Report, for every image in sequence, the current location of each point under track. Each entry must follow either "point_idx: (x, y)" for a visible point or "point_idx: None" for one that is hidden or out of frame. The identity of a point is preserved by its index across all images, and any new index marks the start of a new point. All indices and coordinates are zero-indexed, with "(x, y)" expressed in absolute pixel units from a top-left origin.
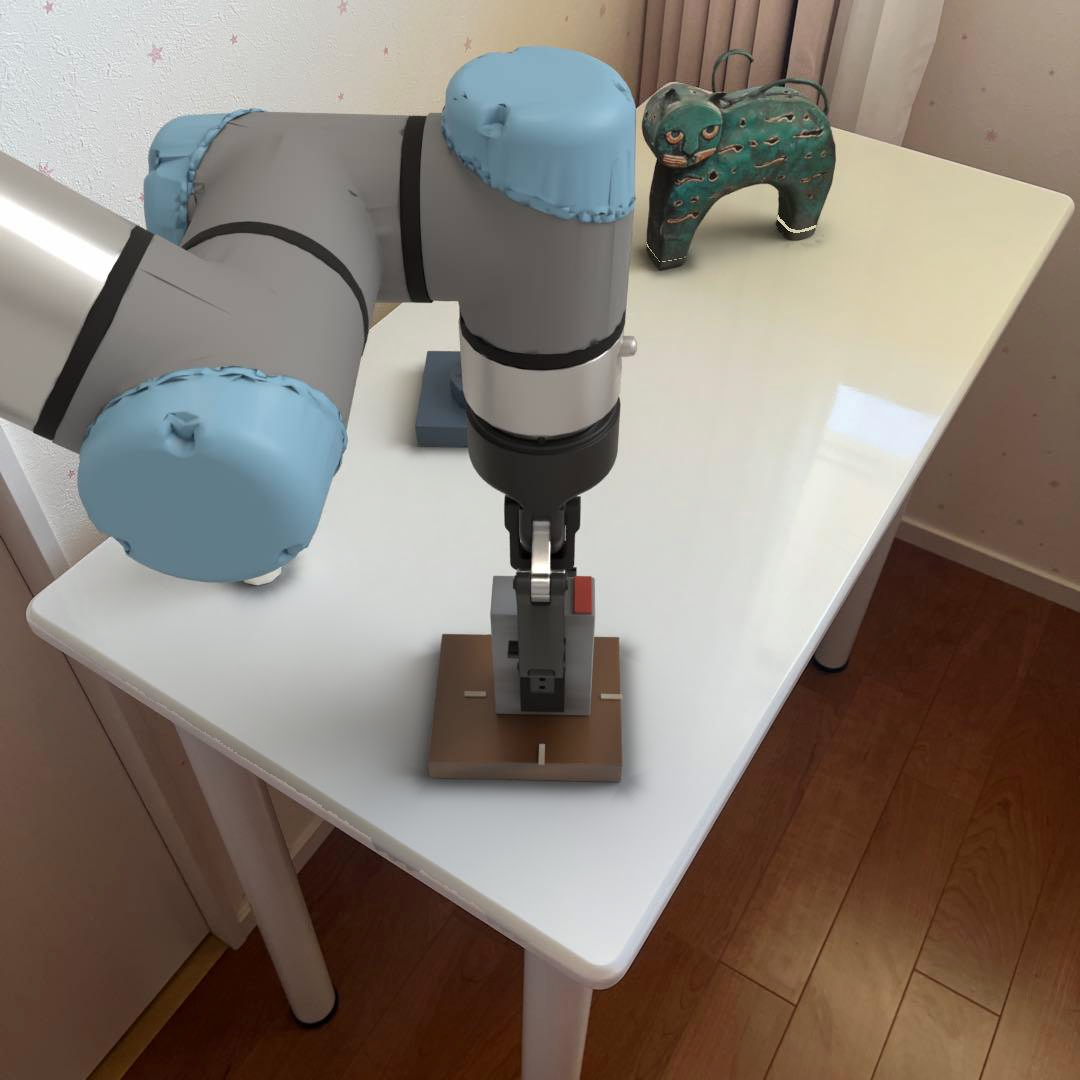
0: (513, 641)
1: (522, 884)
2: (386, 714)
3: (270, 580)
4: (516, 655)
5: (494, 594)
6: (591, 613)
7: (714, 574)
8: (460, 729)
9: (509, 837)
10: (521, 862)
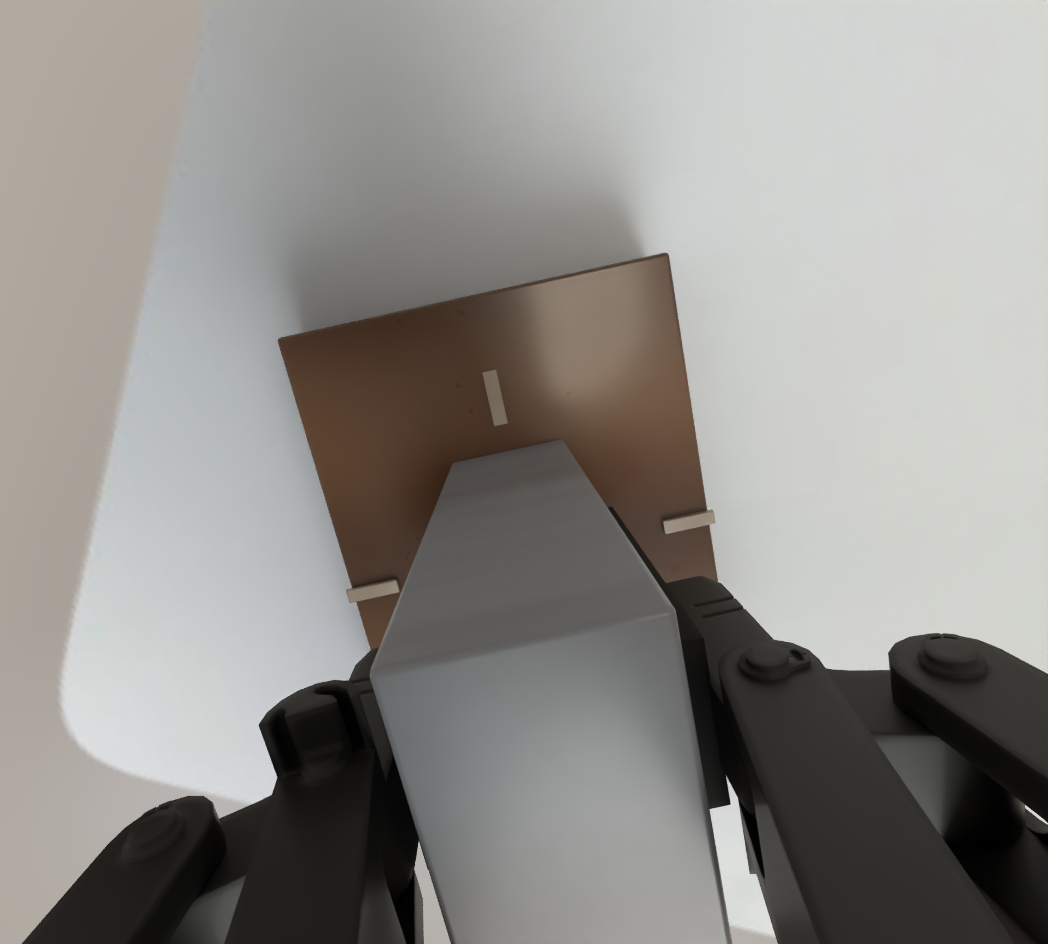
0: (360, 716)
1: (140, 586)
2: (437, 177)
3: None
4: (271, 760)
5: (523, 655)
6: None
7: None
8: (387, 390)
9: (226, 538)
10: (183, 573)
